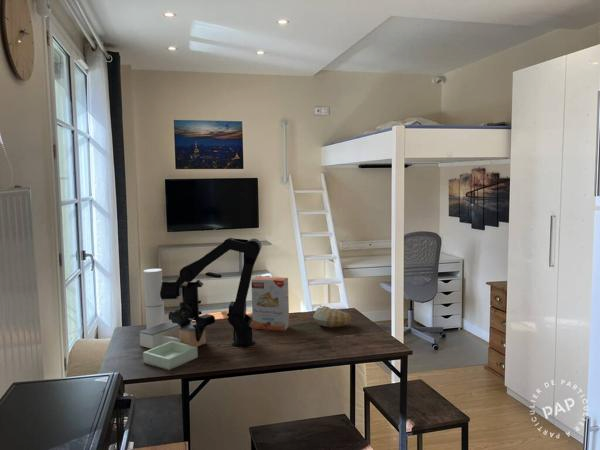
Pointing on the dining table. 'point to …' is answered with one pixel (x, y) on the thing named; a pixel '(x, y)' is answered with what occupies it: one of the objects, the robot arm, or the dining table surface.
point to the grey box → (190, 336)
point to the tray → (170, 355)
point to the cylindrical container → (153, 297)
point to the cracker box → (270, 303)
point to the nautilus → (331, 317)
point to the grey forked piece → (160, 335)
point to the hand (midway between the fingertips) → (192, 340)
